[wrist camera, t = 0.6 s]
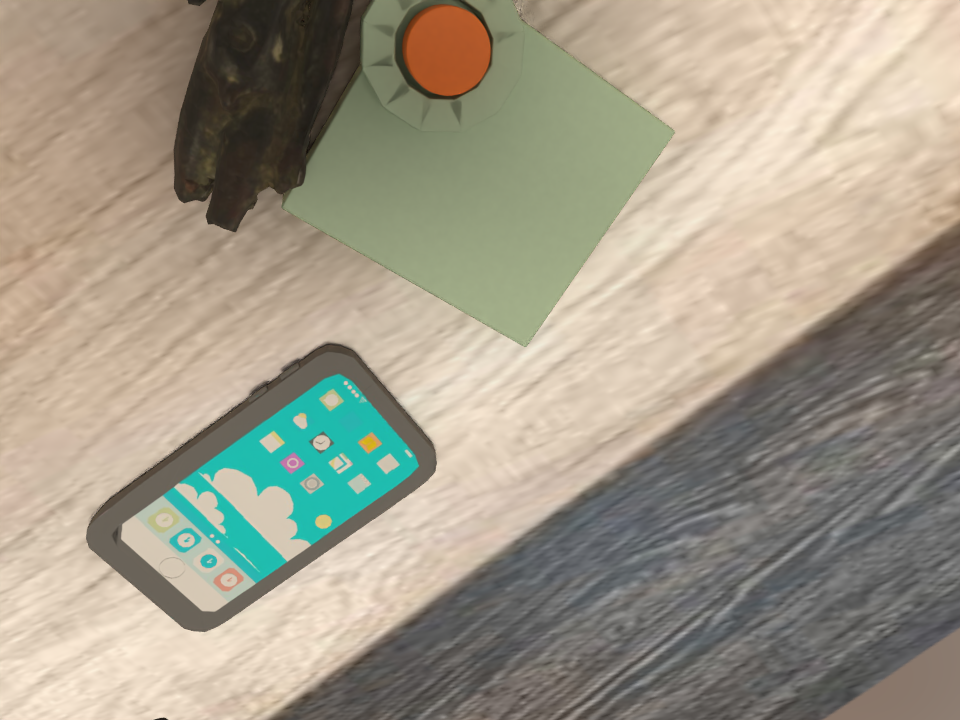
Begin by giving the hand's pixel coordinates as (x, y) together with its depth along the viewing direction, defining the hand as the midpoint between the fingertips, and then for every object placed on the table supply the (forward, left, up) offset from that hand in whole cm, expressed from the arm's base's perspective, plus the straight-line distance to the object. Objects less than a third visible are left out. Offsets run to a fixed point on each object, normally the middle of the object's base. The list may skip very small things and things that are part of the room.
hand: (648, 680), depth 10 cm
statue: (-9, +3, -25) cm, 27 cm away
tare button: (-1, +4, -28) cm, 28 cm away
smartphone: (+3, -17, -31) cm, 35 cm away
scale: (+3, +1, -31) cm, 31 cm away
